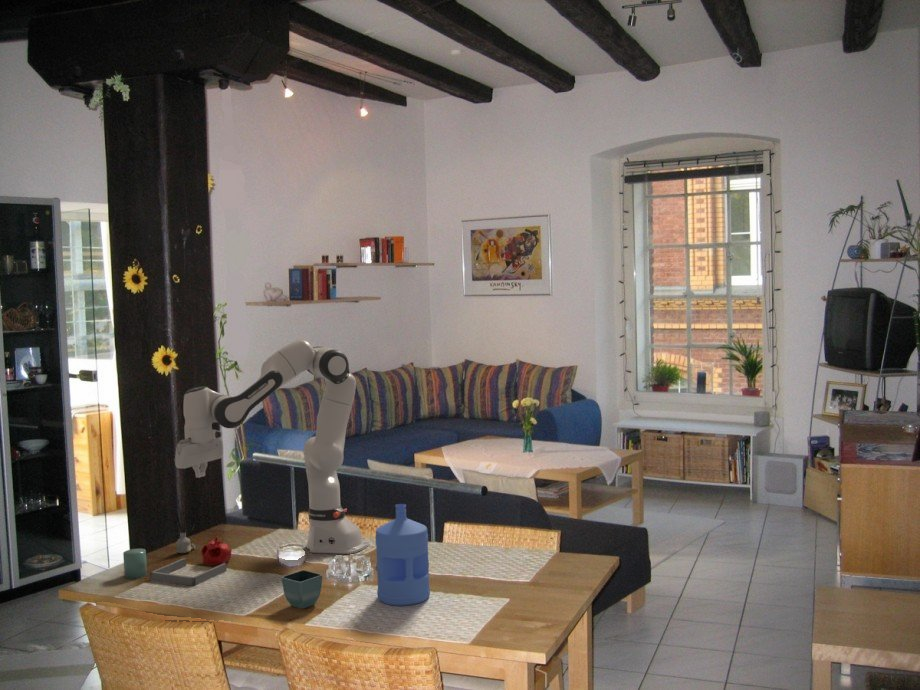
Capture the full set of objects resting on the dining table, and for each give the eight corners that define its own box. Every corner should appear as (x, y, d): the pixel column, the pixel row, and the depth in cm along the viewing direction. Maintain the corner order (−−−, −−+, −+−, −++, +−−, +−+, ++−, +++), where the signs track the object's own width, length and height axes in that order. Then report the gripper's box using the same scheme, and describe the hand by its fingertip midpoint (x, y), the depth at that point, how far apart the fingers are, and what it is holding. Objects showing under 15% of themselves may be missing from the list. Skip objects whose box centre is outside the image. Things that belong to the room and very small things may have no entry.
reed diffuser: (182, 557, 319) (179, 501, 318) (165, 555, 321) (162, 500, 320) (199, 549, 329) (196, 494, 328) (183, 547, 331) (180, 493, 330)
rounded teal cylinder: (151, 573, 302) (150, 549, 302) (136, 579, 296) (134, 555, 295) (135, 571, 305) (134, 547, 304) (119, 577, 299) (118, 553, 298)
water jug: (371, 593, 276) (368, 502, 274) (420, 585, 282) (417, 496, 280) (385, 610, 262) (382, 514, 260) (437, 601, 267) (434, 508, 265)
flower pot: (304, 598, 274) (303, 569, 273) (324, 604, 268) (323, 574, 267) (281, 606, 267) (280, 576, 266) (301, 613, 261) (300, 582, 261)
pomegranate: (216, 557, 318) (215, 531, 318) (237, 561, 313) (236, 534, 313) (195, 565, 310) (194, 538, 309) (216, 569, 305) (215, 541, 304)
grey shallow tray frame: (226, 570, 302) (226, 563, 302) (194, 586, 288) (193, 578, 288) (184, 565, 310) (183, 558, 310) (150, 579, 295) (149, 572, 295)
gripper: (184, 441, 292) (186, 484, 293) (225, 431, 311) (227, 471, 312) (169, 440, 295) (171, 482, 296) (210, 430, 313) (212, 470, 314)
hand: (200, 476), depth 304 cm, fingers closed
